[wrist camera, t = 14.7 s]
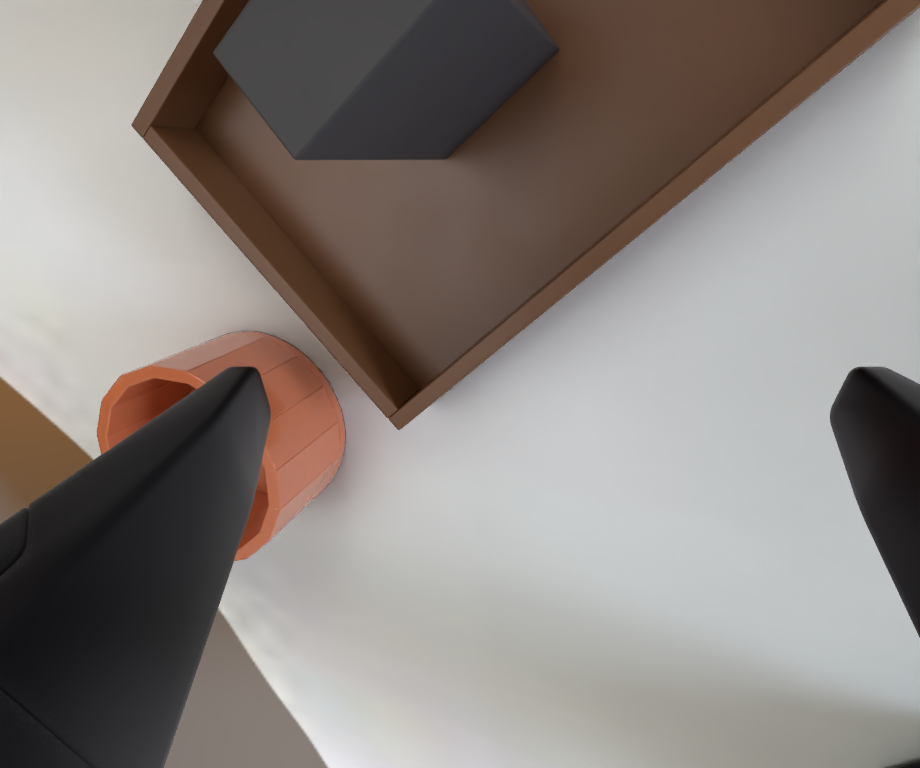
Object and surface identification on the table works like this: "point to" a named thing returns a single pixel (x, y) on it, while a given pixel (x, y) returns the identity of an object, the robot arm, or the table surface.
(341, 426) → the holder cup
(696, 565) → the table surface
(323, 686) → the table surface
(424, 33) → the dark grey block
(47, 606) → the robot arm
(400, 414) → the tray
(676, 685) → the table surface
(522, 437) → the table surface
